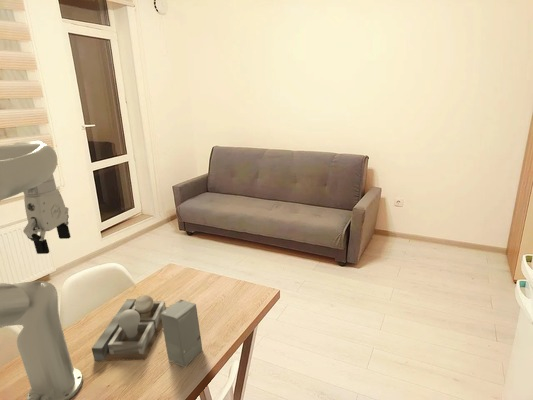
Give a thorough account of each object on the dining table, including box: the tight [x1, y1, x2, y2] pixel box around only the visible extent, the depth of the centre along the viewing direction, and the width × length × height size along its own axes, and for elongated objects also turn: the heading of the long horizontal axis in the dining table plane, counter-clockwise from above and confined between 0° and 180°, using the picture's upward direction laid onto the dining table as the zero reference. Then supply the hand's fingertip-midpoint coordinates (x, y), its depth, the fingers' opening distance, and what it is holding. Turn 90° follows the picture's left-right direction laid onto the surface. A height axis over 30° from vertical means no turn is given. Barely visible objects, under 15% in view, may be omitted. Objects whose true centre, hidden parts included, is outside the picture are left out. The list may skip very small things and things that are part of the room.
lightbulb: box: [118, 309, 140, 342], centre depth 103 cm, size 6×6×11 cm
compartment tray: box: [91, 294, 169, 362], centre depth 108 cm, size 24×15×10 cm, turn 178°
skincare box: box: [160, 299, 203, 368], centre depth 97 cm, size 8×7×16 cm
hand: (54, 245), depth 96 cm, fingers open, 9 cm apart
